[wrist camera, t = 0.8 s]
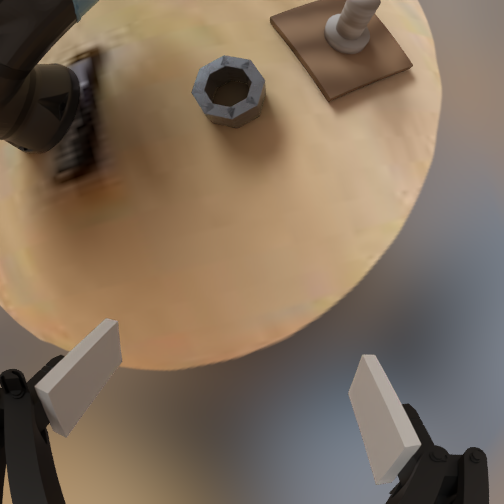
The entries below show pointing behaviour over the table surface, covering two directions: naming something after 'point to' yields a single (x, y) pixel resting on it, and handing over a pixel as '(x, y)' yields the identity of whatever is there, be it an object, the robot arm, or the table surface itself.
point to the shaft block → (341, 44)
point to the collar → (220, 75)
